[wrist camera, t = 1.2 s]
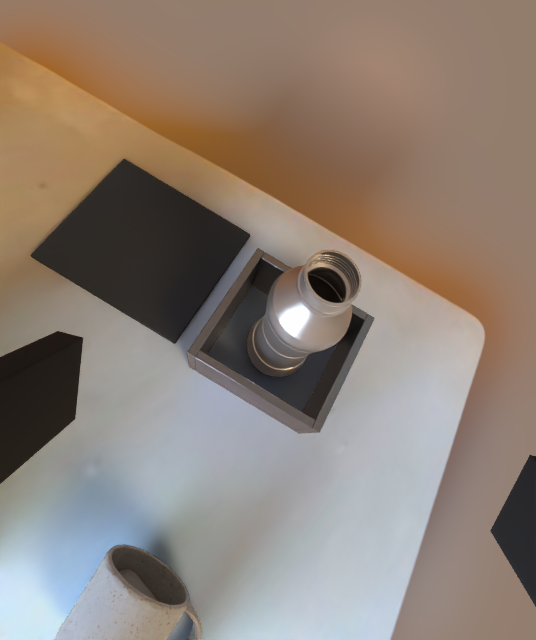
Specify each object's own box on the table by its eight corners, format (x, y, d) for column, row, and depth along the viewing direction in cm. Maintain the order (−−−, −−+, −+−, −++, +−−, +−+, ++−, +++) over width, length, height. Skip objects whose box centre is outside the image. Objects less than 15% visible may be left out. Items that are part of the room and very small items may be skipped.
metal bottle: (288, 315, 42) (356, 217, 24) (310, 370, 41) (402, 312, 22) (235, 331, 41) (264, 240, 22) (256, 389, 39) (306, 344, 20)
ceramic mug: (58, 633, 30) (14, 695, 23) (120, 533, 33) (99, 561, 26) (167, 700, 30) (158, 783, 23) (220, 595, 33) (227, 640, 26)
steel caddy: (189, 367, 39) (186, 352, 32) (249, 276, 43) (257, 247, 36) (299, 433, 38) (319, 432, 32) (348, 336, 43) (374, 317, 36)
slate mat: (32, 257, 39) (30, 255, 39) (124, 161, 45) (124, 158, 44) (174, 343, 39) (174, 342, 39) (249, 236, 45) (250, 234, 44)
